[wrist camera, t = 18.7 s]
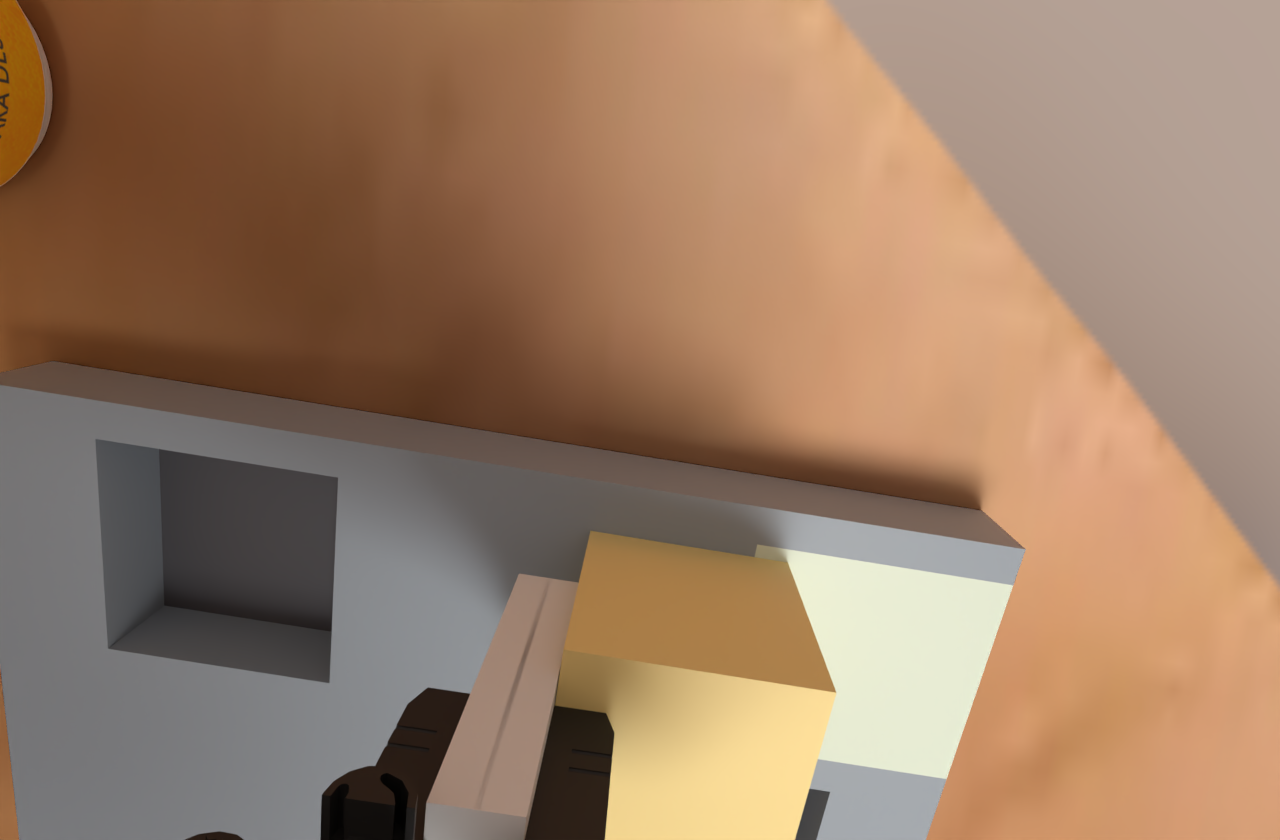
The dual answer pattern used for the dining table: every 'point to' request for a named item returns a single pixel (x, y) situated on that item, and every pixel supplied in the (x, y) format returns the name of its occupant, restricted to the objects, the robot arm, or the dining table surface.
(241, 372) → the dining table surface
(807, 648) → the block
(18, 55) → the beer can
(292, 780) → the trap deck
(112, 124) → the dining table surface
